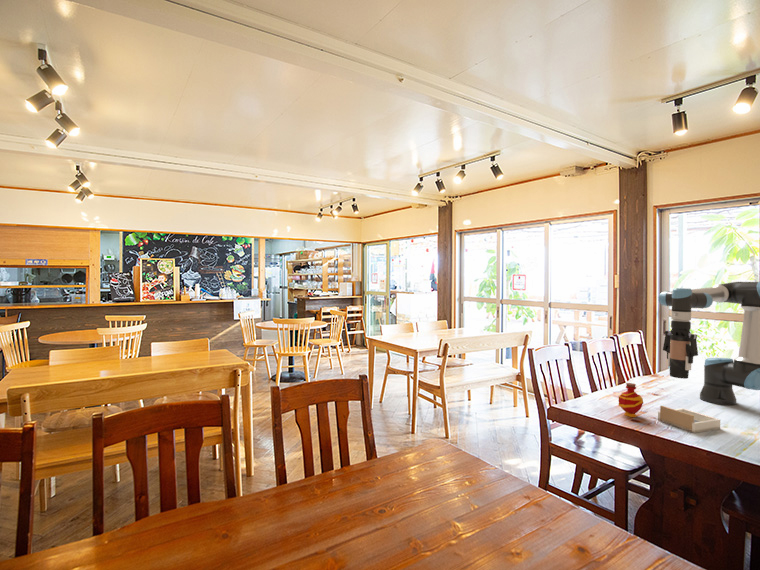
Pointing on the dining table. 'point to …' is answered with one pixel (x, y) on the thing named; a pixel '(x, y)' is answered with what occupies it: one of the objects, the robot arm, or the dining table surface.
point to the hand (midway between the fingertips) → (679, 368)
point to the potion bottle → (630, 401)
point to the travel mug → (678, 356)
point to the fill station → (688, 419)
